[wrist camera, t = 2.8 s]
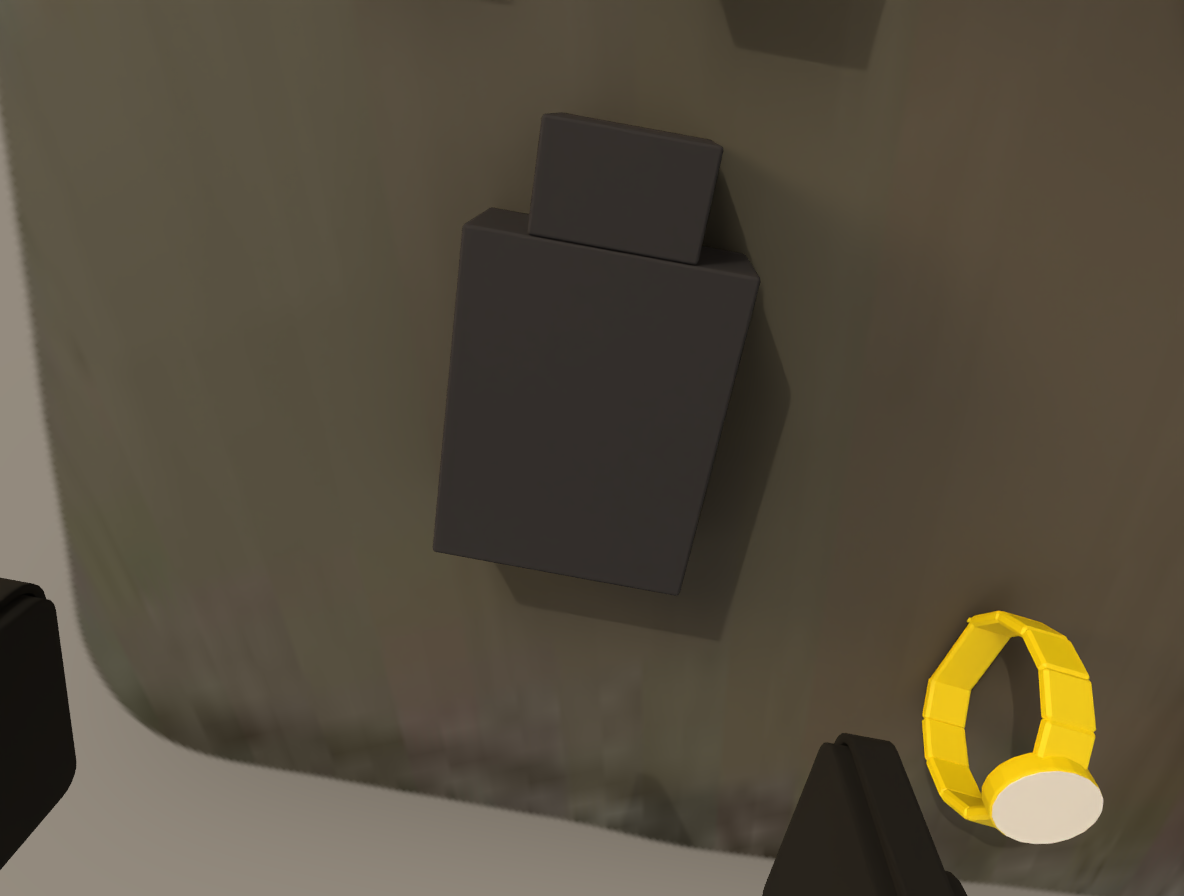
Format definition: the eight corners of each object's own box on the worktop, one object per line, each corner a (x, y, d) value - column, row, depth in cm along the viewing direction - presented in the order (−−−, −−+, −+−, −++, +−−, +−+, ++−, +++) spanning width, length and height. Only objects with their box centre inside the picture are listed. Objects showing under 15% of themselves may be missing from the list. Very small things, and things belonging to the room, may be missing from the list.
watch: (969, 570, 24) (1062, 706, 18) (1051, 594, 24) (1168, 737, 19) (885, 710, 26) (946, 867, 21) (961, 731, 26) (1040, 892, 21)
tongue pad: (772, 151, 19) (793, 158, 16) (675, 538, 24) (679, 597, 21) (500, 101, 19) (473, 100, 16) (458, 498, 24) (431, 552, 21)
